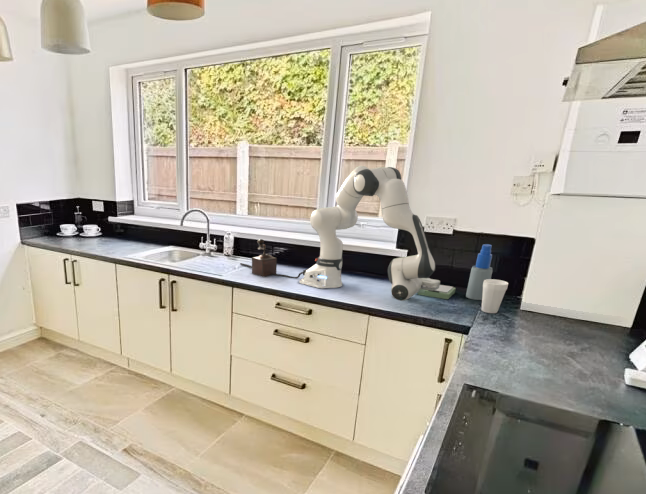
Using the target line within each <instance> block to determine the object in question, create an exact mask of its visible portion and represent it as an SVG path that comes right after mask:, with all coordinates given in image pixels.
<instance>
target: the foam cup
mask: <svg viewBox="0 0 646 494" xmlns="http://www.w3.org/2000/svg"><path fill="white" fill-rule="evenodd" d="M508 286H509V282H508V281H505V280H501V279H495V278H493V279H492V278H491V279H486V280H484V282H483V294H482V300H481V308H480V309H481V312H484V313H487V314H497V313H498V311H499V309H500V306H501V304H502V301H503V299H504V296H505V294H506V291H507V290H508Z"/></svg>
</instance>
